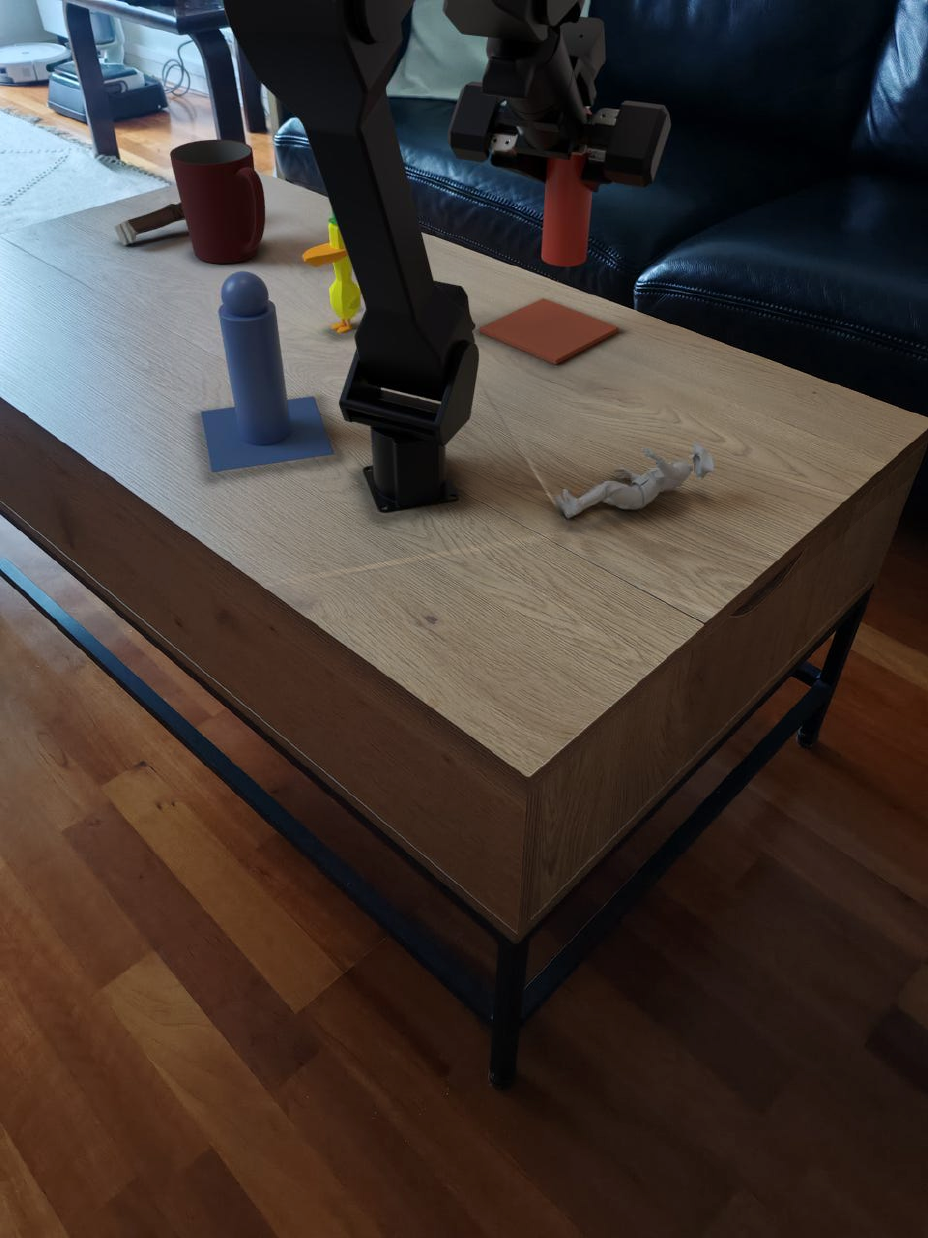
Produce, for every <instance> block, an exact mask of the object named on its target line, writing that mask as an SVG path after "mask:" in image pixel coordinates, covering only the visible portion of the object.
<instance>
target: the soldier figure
mask: <svg viewBox="0 0 928 1238" xmlns="http://www.w3.org/2000/svg"><path fill="white" fill-rule="evenodd" d="M640 449H641V450H640V451H641V452H642V455H643V457H645V458H650V459H651V460H653V461H655V465H656V467H652V468H650V469H649V470H646V472H644V473H643V474H639V473H637V472H633V471H632V470H629V469H627V468H624V467H616V468H614V469H613V472H614V473H621V474H622V476H620V477H618V479H620V480H621V479H626V478H630V481H631V482H630V483H631V484H629V485H628V484H625V483H622V482H618V481H615V480H604V482H602V483H601V484H596V485H595V486H594V487H591V488H590V489H588V490H587V492H585V494H583V495H582V496H580V497H579V498H577V497H575V496H573V495H571V494H570V491H569V490H568V489H566V488H563V489H562V496H561V494H555V500H556V504H557V506H558V508H559V509H560V510H561V511H562V512H563V515H564V516H565V518H566V519H571V518H573V517H574V516H577V515H579V514H580V513H581V512H583V510H585V509H588V507H592V506H594V505H596V504H597V503H600V502H602V503H606V504H608V505H611V506H615V507H617V508H619V509H622V510H633V511H634V510H635V511H636V510H642V509H643V508H644V507H646V505H648V504H651V503H652V501H654V499H655V498H656V497H657V496H658V495H659V493H665V492H669V491H672V490H676V489H677V488H680V487H682V486H683V483H684V482H685V481H686V480H687V479H688V478H689V476H690V475H691V474H692V472H693V470H694V474H695V476H696V478H701V480H703V479H705V477H706V476H707V475H708V474H709V473H715V463H714V459H713V456H711V455H710V453H708V451H707V450H706V449H705V448H704V447H703V446H702V445H700V444H698V443H697V442H694V444H693V454H690V455H689V456H688V458H692V459H691V461H692V463H693V466H692V465H691V464H690V463H689V462H686V461H684V460H682V459H679V460H675V461H671V462H667V461H666V460H665V459H664V458H663V457H660V455H659V454H658V453H657V452H654V451H653V450H652V449H650V448H649V447H641V448H640ZM562 497H563V498H564V499H563V498H562Z"/></svg>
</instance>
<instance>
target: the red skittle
mask: <svg viewBox="0 0 928 1238" xmlns="http://www.w3.org/2000/svg"><path fill="white" fill-rule="evenodd" d="M585 112H586V114H592V112H591V110H590V109H589V107H586V111H585ZM583 146H584V145H583ZM587 155H588V153H587V152H586V154H585V155H583V156H582V155H575V154H571V157H570V160H563V159H557V158H550V157H547V170H546V184H545V189H544V203H543V204H544V206H543V222H542V238H541V239H542V240H541V260H542V261H543V263H546V264H548V265H551V266H555V267H563V268H564V267H565V268H568V267H569V268H570V267H577V266H580V265H582V264H584V263H585V262H586V260H587V257H588V256H587V255H588V244H589V236H590V235H589V233H590V222H591V211H592V202H593V191H591V190H590V189H589V188H588V187H587V186H586V185H585V184H584V183H583V182H582V181H581V180H580V177H581V174H582V171H583V167H584V164H585V161H586V158H587Z"/></svg>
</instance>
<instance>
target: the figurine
mask: <svg viewBox="0 0 928 1238" xmlns="http://www.w3.org/2000/svg"><path fill="white" fill-rule="evenodd" d="M180 221H186V219H185V216H184V212H183V208H182V204H181V201H180V202H177V203H176V204H175V203H170V204H168V205H166V206H164V207H161V208H159V209H157V210H154V211H151V212H148V213H145V214H142V215H139V216H137V217H133V218H130V219H127V220H123V221H122V222H120V223H117V224H116V225H114V230H115V232H116V235H117V237H118V239H119V241H120V243H121V245H123V246H128V245H129V243H132V244H133V243H134V242H135V241H136V240H137V236H138V235H141V234H145V233H149V232H151V231H155V230H158V229H162V228H164V227H167V226H170V225H171V224H173V223H176V222H180Z"/></svg>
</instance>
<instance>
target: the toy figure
mask: <svg viewBox="0 0 928 1238" xmlns="http://www.w3.org/2000/svg"><path fill="white" fill-rule="evenodd" d="M327 222H329V223H328V224H327V225H328V236H329V238H328V239H329V242H326V243H322V244H318V245H316V246H313V247H311V248H309V249H307V250H306V251H305V252H304V253H303V254H302V256H301V257H302V259H303V262H304V263H306V264H308V265H310V266H312V267H314V268H315V267H320V266H321V267H322V266H325V265H329V264H332V265H333V269H334V275H335V279H334V281H333V283H332V284H331V286H330V287H329V289H328V290H329V292H328V293H329V301H330V302H329V303H330V307H331V309H332V310H333V312H334V313H335V314H336V315H337V316H338V318H339V319H340V321H341V322H336V323H333V325H332V326H331V327H330V329H332V330H336V334H343V333H346V332H348V331H350V330H352V329H353V327H352V326H351V325H352V324H351V319H353V318H354V317H356V315H357V313H358V312H359V310H360V308H361V307H362V303H361V297H362V294H361V291H360V288H359V285H358V284H356V283H355V281H354V280H353V279H352V270H353V268H352V265H351V262H350V260H349V257H348V254H347V251H346V248H345V245H344V242H343V239H342V236H341V234H340V231H339V228H338V225H337V222H336V219H335V216H334V213H333V211H332V210H331V217H330V218H328V220H327Z"/></svg>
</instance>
